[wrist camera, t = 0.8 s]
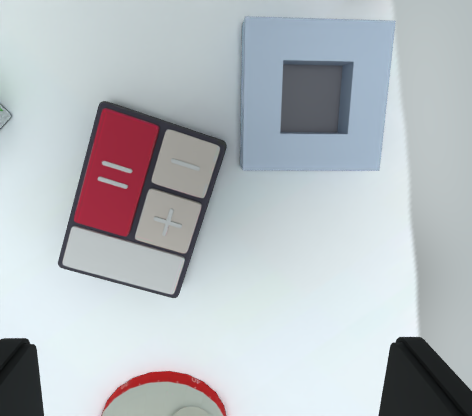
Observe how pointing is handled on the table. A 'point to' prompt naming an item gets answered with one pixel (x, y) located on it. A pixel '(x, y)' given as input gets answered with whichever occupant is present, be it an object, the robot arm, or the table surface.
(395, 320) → the table surface
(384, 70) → the outlet plate
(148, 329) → the table surface
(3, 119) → the skincare box
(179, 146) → the calculator
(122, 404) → the kitchen timer
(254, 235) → the table surface
